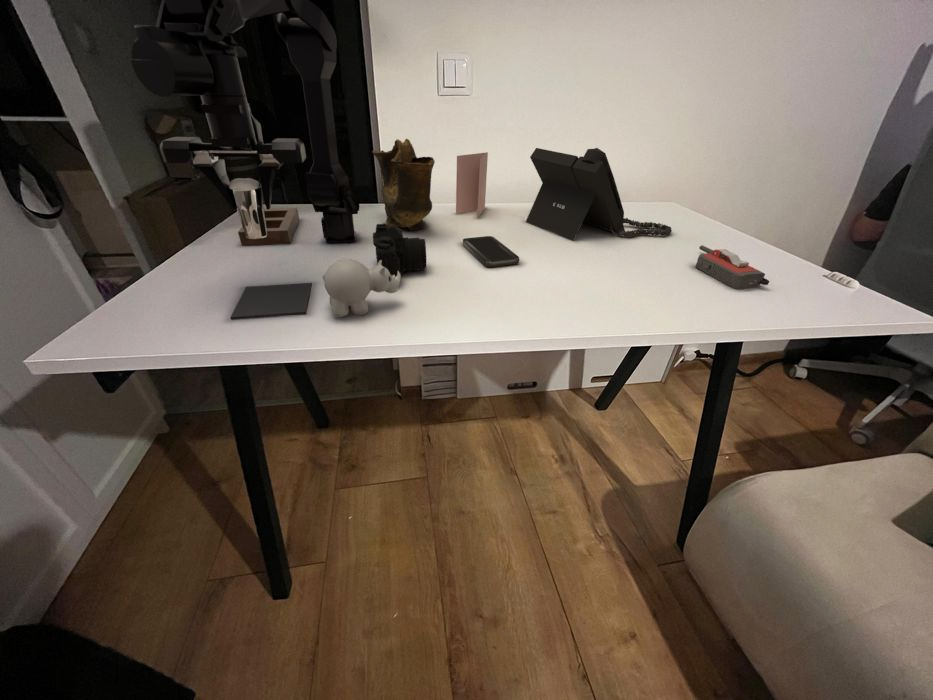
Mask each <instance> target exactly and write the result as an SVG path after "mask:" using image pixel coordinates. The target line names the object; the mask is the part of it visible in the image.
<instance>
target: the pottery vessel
mask: <svg viewBox="0 0 933 700" xmlns="http://www.w3.org/2000/svg"><path fill="white" fill-rule="evenodd" d="M372 154H373V156H374V157H375V158H376V159H377V161H378V164H379V169H380V173H381V178H382V188H381V191H380V192H381V194H382V200H383V205H384V211H385V215H386V220H385V224H386V225H388V226H390V225H395V226H397V227H399V228H400V229H405V228H408V230H409V231H411V232H412V231H413V230H414V231H418V230H422V229H424V228H425V226H426V223H425V222H424V220H423V219H425V218H427V216H429V214H430V213H431V211H432V210H433V202H432V200H431V188H432V187H431V186H432V173H433V168H434V165H435V163H436V161H435V159H434V157H433V156H421V157H417V154H416V152H415V148H414V146H413V143H412V142H411V141H410V139H409V138H407V137H406V138H405V139H404V141H401V139H399V138H398V139H396V140H395V141H394V145H393V146H392V149H391V150H388V151H385V150H380V151H379V150H372Z"/></svg>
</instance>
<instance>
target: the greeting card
mask: <svg viewBox="0 0 933 700" xmlns="http://www.w3.org/2000/svg"><path fill="white" fill-rule="evenodd" d="M488 157H489V152H479V153H470V154H461V155H456V179H455V180H456V183H455V184H456V187H455V188H456V189H455V191H456V192H455V215H459V214H463V213H464V214H465V213H468V212H472V211H477V213H476V214H477V216H476V219H479V217H480V215H481V214H482V213H483V212H484V210H485V209H486V194H487V193H486V192H487V174H488Z"/></svg>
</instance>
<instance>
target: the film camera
mask: <svg viewBox="0 0 933 700" xmlns="http://www.w3.org/2000/svg"><path fill="white" fill-rule="evenodd" d="M372 243H373V246H374V247H375V256H376V257H375V259H376V265H377V264H378V262H379V261H380V260H382V263H381V265H382V266H383V267H385V268H386V269H387V270H388V271H389V273H390V274H391V276H393V275H395V277H396V276H397V274H398V272H399V273H400V274H403V273H404V272H405V271H406V272H411V271H421V270H424V269H425V270H426V269H427V245H426V239H425V238H420V237H408V236H405V237H404V232H403V229H402V228H401V227H399V226H395V225H390V226H388V225H387V224H386V223H377V224H376V226H375V232H373V233H372Z"/></svg>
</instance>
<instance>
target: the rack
mask: <svg viewBox="0 0 933 700" xmlns="http://www.w3.org/2000/svg"><path fill="white" fill-rule="evenodd" d="M264 215H265V222H266V228H267V237H264V238H261V239H249V238H247V237H246V235H245V232H244V229H243V226H242V225H241V227H240V228H239V230H238V231H237V234H238V238H239V240H240V241H239V242H240V245H241V246H264V245H267V246H268V245H290V244H291V242H292V239H293V238H294V235H295V232H296V229H297V227H298V224H299V221H300V215H299V211H298V207H286V208H285V207H283V208H270V209H267V208H264Z"/></svg>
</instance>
